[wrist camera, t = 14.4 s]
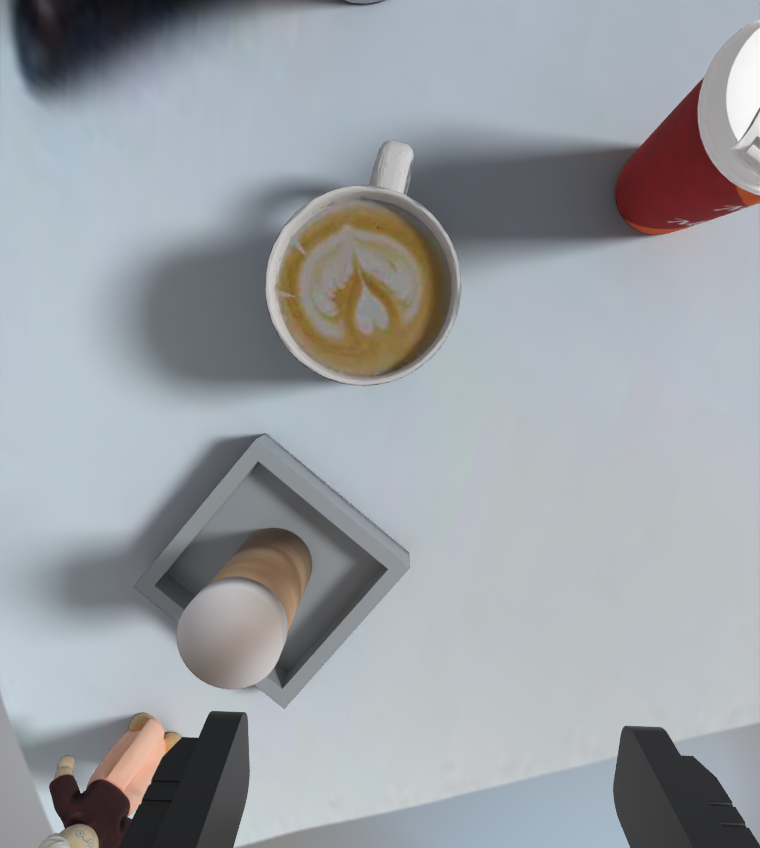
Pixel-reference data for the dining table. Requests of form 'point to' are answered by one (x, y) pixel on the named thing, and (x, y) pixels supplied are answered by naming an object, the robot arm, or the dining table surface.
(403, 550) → the stoneware tray
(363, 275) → the coffee mug
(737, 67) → the paper cup
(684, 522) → the dining table surface
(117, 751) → the grandmother figurine
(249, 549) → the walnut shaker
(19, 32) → the dining table surface
